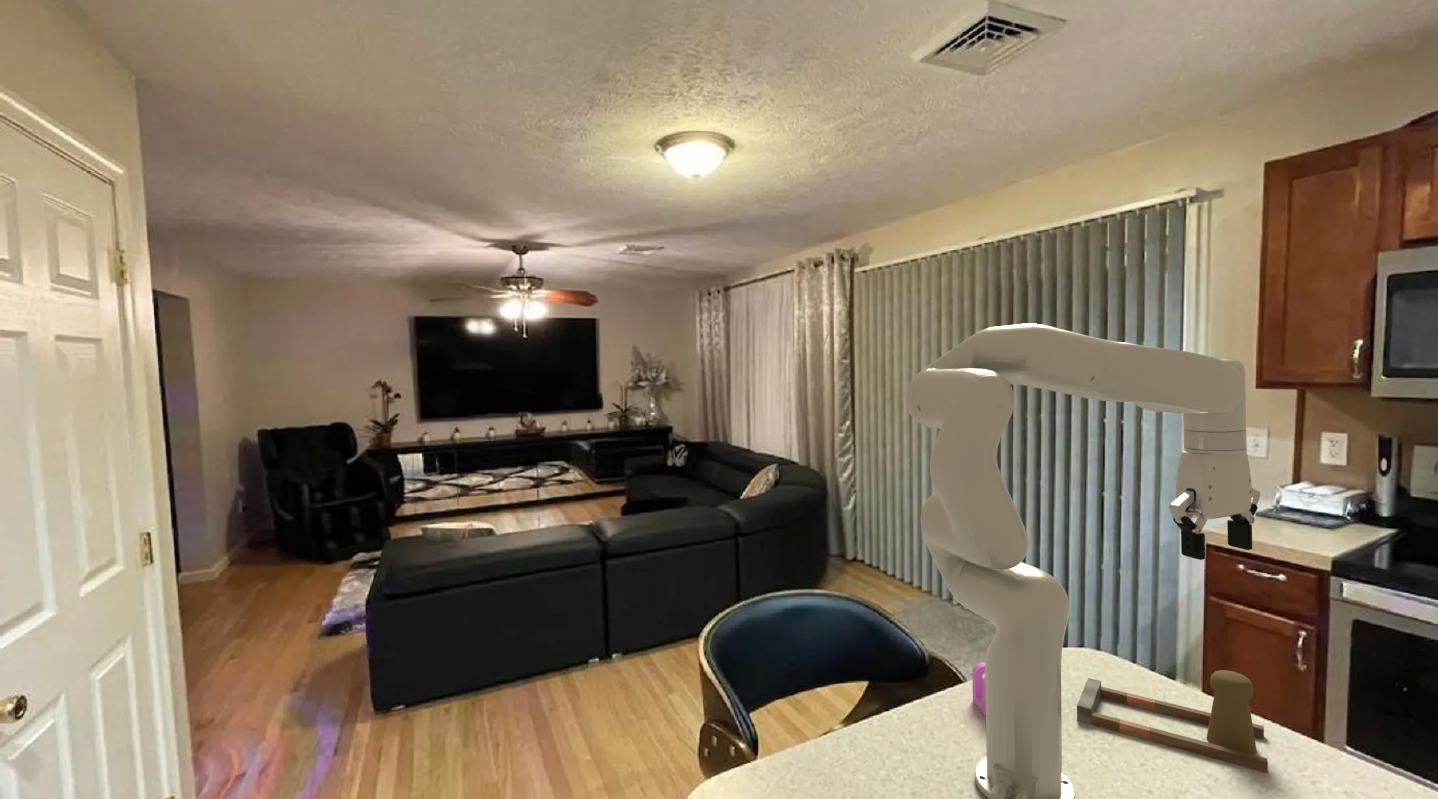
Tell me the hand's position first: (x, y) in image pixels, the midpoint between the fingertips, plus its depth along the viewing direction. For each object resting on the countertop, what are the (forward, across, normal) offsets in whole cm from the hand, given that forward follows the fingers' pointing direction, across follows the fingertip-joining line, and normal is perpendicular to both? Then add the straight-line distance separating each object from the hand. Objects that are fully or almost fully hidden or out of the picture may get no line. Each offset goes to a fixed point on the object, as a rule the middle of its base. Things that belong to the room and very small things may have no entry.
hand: (1216, 552), depth 98 cm
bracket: (+29, +22, -18) cm, 41 cm away
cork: (+30, 0, +1) cm, 30 cm away
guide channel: (+29, +4, -5) cm, 30 cm away
